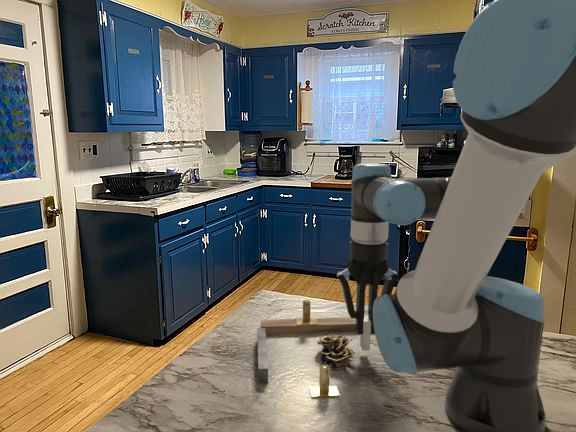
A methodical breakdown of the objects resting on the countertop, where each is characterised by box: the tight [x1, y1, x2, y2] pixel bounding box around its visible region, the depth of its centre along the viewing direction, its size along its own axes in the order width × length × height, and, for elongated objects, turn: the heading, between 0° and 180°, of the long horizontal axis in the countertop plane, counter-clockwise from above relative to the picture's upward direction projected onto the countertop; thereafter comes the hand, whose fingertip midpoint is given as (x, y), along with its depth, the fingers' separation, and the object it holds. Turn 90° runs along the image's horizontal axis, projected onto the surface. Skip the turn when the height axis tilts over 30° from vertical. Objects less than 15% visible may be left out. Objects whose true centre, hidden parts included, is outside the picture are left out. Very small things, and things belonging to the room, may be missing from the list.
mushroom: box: [315, 334, 356, 370], centre depth 94 cm, size 12×8×4 cm, turn 175°
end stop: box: [256, 327, 269, 384], centre depth 93 cm, size 18×2×3 cm, turn 5°
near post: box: [309, 364, 340, 399], centre depth 81 cm, size 3×5×5 cm, turn 94°
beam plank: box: [260, 299, 357, 336], centre depth 107 cm, size 4×30×7 cm, turn 94°
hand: (364, 347), depth 95 cm, fingers closed
